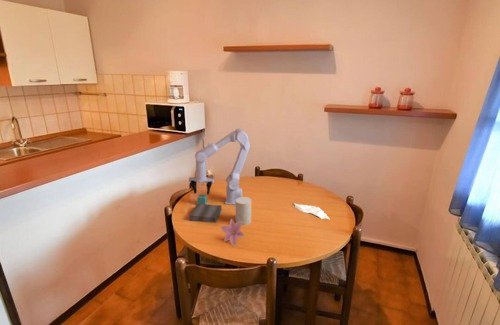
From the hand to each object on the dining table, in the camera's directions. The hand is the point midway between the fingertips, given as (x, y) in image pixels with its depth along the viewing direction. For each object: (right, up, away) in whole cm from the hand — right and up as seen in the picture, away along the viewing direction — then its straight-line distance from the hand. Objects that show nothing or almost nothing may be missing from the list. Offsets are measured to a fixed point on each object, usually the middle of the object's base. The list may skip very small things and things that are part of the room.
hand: (201, 193), depth 162 cm
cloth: (+63, -10, -4) cm, 64 cm away
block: (0, -7, +2) cm, 7 cm away
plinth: (+4, -11, -11) cm, 16 cm away
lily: (+20, -18, -33) cm, 43 cm away
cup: (+25, -13, -16) cm, 32 cm away
